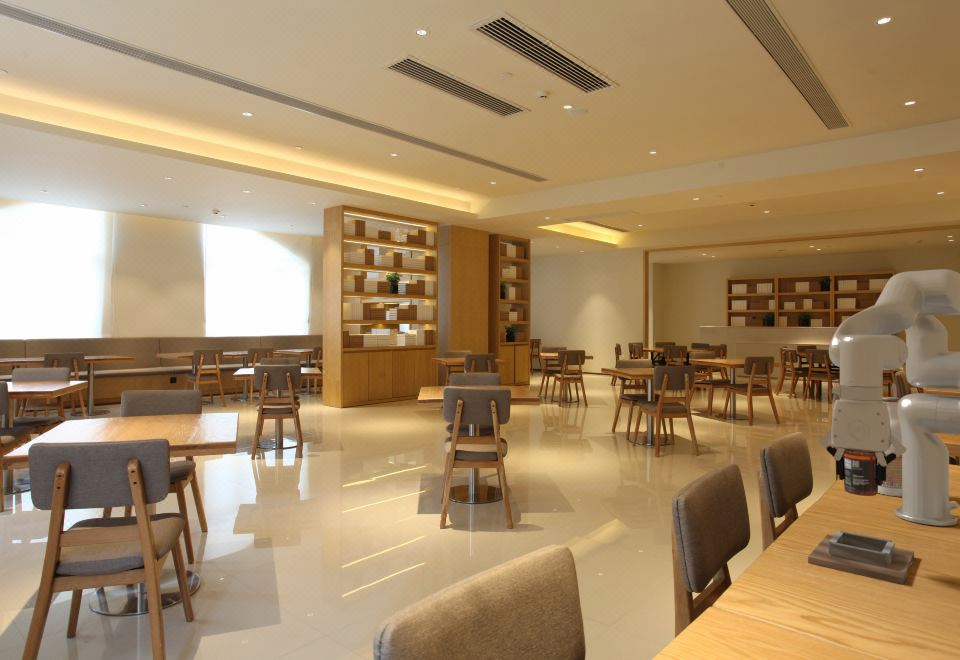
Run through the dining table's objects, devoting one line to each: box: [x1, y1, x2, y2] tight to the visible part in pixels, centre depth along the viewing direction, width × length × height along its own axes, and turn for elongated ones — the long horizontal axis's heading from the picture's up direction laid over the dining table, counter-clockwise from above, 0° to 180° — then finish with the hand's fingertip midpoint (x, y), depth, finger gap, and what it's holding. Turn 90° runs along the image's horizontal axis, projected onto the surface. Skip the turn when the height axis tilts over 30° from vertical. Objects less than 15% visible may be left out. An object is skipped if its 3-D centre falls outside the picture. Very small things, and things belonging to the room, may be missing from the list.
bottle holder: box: [807, 530, 915, 585], centre depth 123 cm, size 18×16×4 cm
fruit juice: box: [878, 396, 902, 497], centre depth 174 cm, size 9×9×28 cm
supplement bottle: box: [843, 449, 879, 497], centre depth 123 cm, size 6×6×11 cm
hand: (860, 480), depth 123 cm, fingers closed on supplement bottle, 5 cm apart
